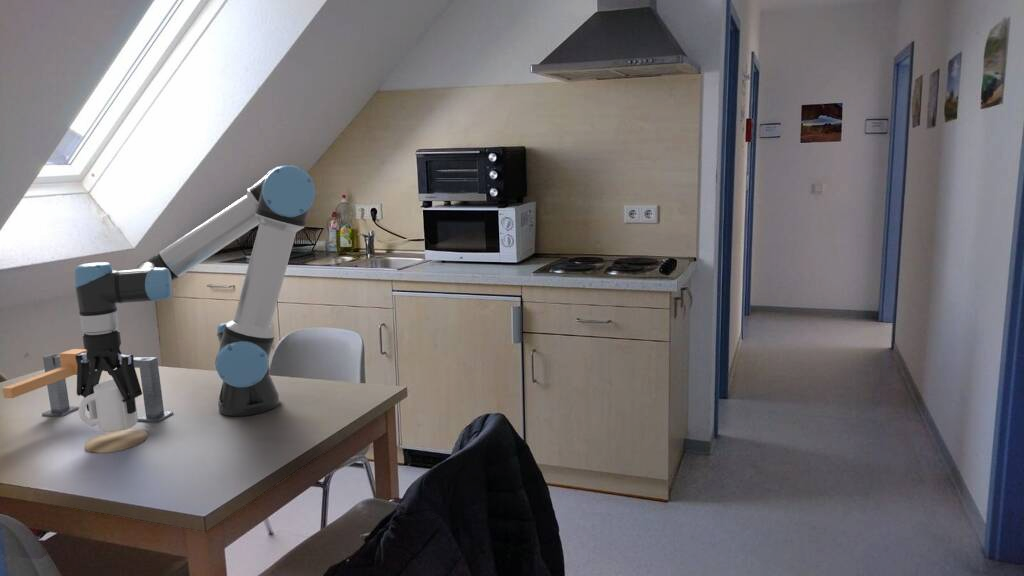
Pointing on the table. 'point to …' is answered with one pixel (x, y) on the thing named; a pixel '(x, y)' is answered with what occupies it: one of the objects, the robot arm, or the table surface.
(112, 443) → the coaster
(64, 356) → the orange bar
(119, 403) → the mug
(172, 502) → the table surface
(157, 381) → the rail frame
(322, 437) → the table surface
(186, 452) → the table surface
